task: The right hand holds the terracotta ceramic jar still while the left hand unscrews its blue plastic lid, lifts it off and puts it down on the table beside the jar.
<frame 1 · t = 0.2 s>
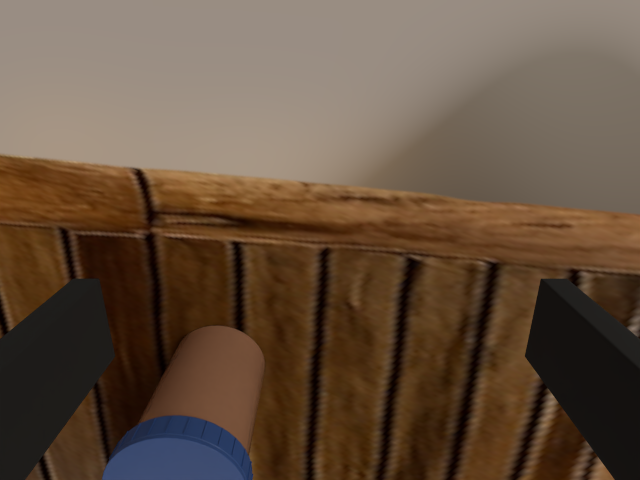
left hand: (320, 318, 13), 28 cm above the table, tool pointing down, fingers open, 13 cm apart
jar: (220, 363, 47), on the table
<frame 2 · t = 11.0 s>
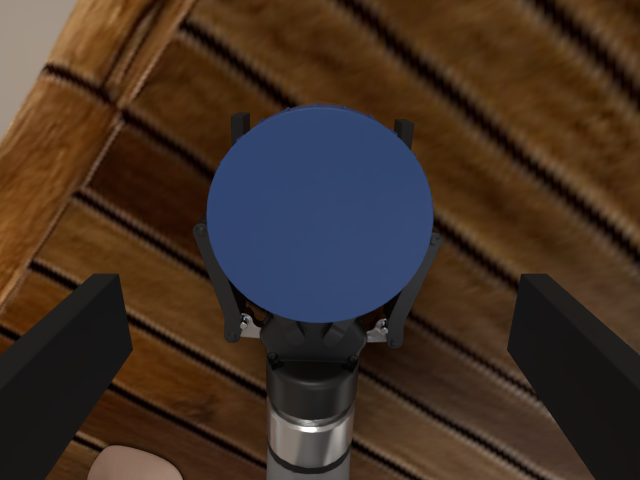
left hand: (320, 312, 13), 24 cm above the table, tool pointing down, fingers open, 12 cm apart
lid: (319, 223, 21), point 15 cm above the table, screwed on, not yet turned
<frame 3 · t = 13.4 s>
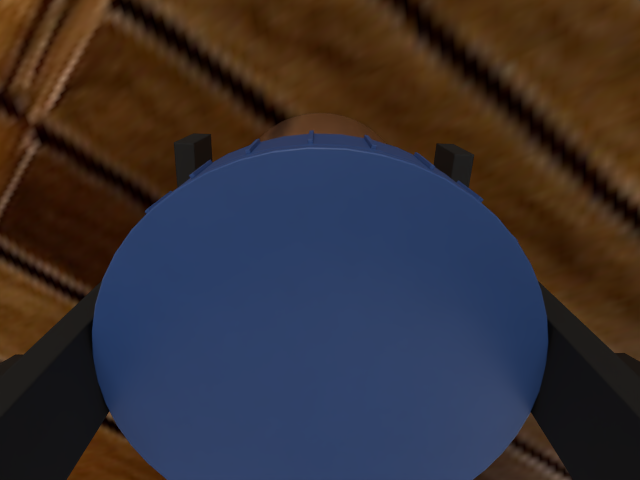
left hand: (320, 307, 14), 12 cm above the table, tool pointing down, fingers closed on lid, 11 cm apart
lid: (320, 365, 11), point 15 cm above the table, screwed on, not yet turned, touching left hand
jar: (320, 200, 25), on the table, touching right hand
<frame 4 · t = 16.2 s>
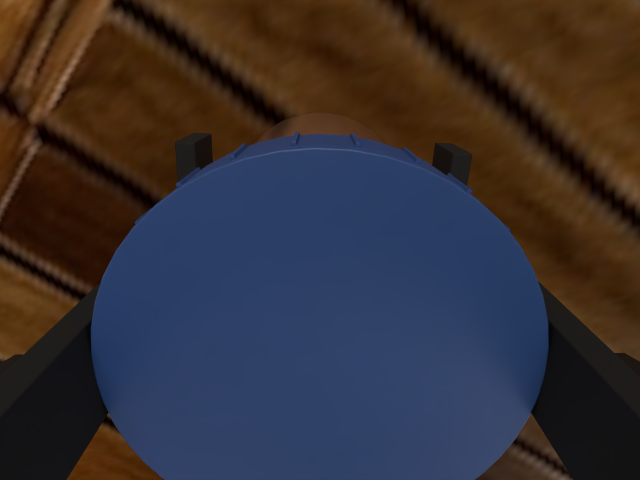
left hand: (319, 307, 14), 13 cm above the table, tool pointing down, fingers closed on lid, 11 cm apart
lid: (319, 366, 11), point 16 cm above the table, turned 59° so far, risen 0.2 cm, still on its thread, touching left hand
jar: (319, 199, 25), on the table, touching right hand
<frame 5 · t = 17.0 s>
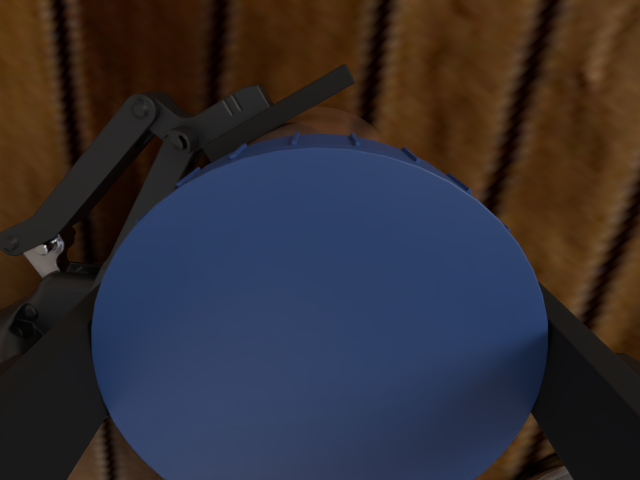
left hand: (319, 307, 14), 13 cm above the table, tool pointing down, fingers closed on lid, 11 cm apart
lid: (319, 366, 11), point 16 cm above the table, off its thread, touching left hand
jar: (318, 192, 26), on the table, touching right hand
when the left hand's fingers open (0 cm above the table, at t = 22.3 s): lid drops 1 cm, point 2 cm above the table.
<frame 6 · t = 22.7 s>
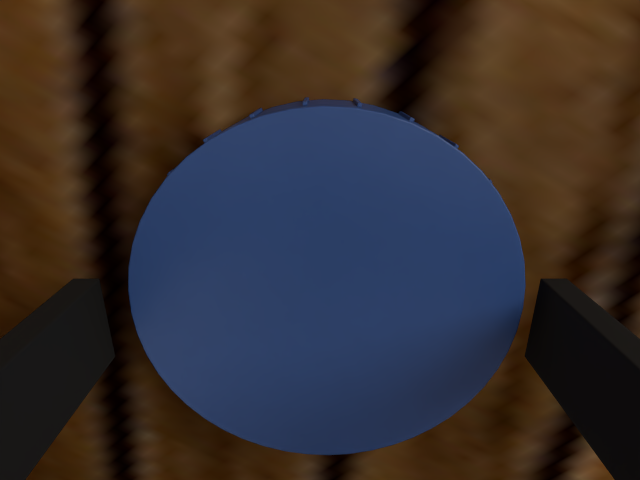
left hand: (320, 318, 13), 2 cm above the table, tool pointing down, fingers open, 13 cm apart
lid: (325, 304, 12), point 2 cm above the table, off its thread
when the right hand's fingers open (7 cm above the table, at t = 23.4 s): jar stays where it is, on the table.
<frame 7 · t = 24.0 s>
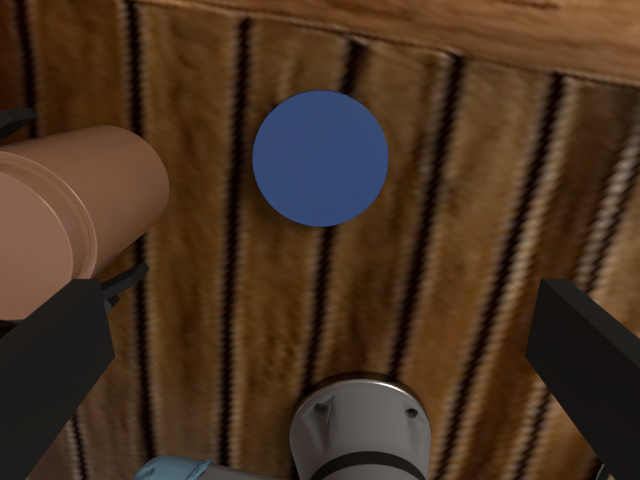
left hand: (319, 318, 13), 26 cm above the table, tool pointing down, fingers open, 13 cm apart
lid: (320, 161, 35), point 2 cm above the table, off its thread
jar: (113, 182, 38), on the table
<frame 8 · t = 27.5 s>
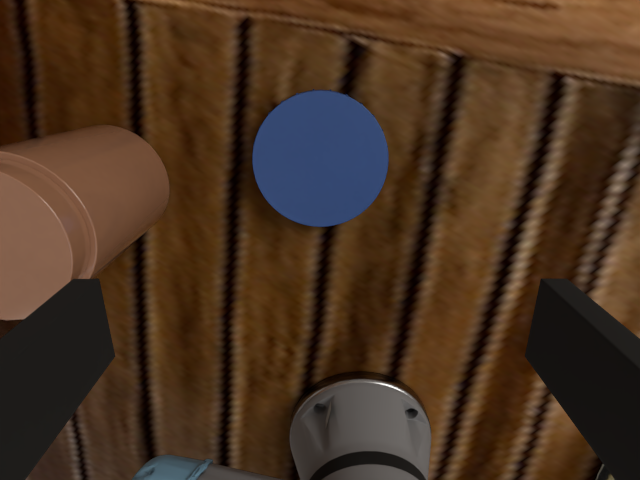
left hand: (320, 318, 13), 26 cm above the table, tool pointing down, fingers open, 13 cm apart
lid: (320, 161, 35), point 2 cm above the table, off its thread
jar: (113, 182, 38), on the table
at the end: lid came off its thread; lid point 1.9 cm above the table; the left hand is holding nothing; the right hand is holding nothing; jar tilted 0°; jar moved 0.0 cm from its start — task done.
